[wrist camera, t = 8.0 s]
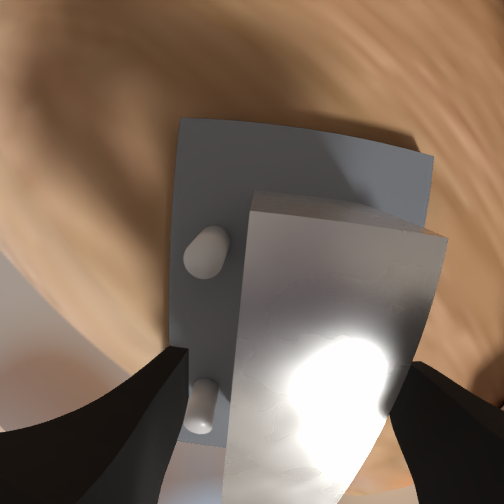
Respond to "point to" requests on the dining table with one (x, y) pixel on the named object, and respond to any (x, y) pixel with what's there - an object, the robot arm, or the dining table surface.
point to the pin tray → (236, 228)
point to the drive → (321, 342)
